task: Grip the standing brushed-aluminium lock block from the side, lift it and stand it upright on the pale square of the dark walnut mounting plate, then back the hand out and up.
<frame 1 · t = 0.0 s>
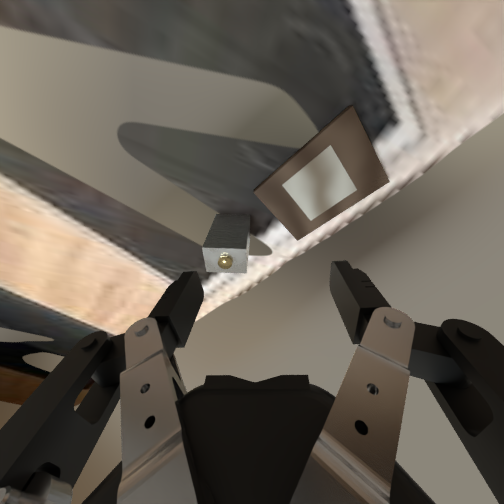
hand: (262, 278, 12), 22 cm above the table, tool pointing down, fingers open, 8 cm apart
mount plate: (317, 184, 30), on the table
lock: (233, 225, 35), on the table
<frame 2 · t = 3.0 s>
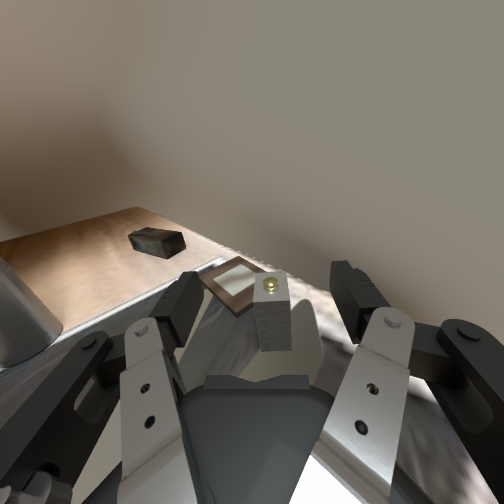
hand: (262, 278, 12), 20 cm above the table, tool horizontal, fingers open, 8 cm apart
mount plate: (238, 282, 43), on the table
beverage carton: (160, 250, 65), on the table
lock: (275, 333, 31), on the table
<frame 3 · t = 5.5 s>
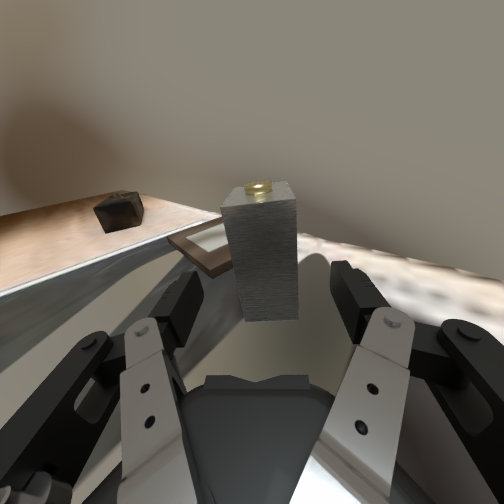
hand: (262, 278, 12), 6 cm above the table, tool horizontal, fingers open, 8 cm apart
mount plate: (220, 241, 31), on the table
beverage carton: (129, 221, 53), on the table
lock: (270, 296, 19), on the table
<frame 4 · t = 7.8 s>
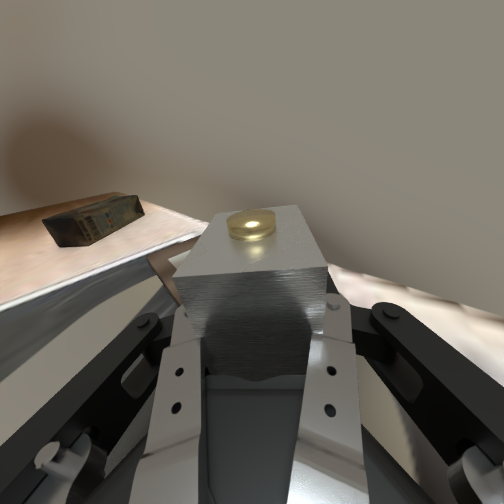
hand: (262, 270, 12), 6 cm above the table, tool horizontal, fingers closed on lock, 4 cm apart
mount plate: (210, 265, 26), on the table
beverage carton: (110, 230, 47), on the table
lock: (271, 367, 13), on the table, touching gripper
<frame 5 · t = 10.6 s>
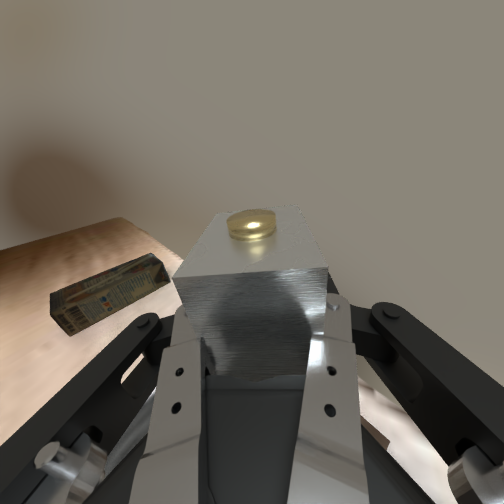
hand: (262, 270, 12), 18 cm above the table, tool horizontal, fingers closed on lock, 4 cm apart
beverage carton: (124, 299, 41), on the table
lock: (271, 367, 13), point 12 cm above the table, touching gripper
when the fingers open (8 cm above the table, at t = 13.4 s): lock stays where it is, resting on mount plate.
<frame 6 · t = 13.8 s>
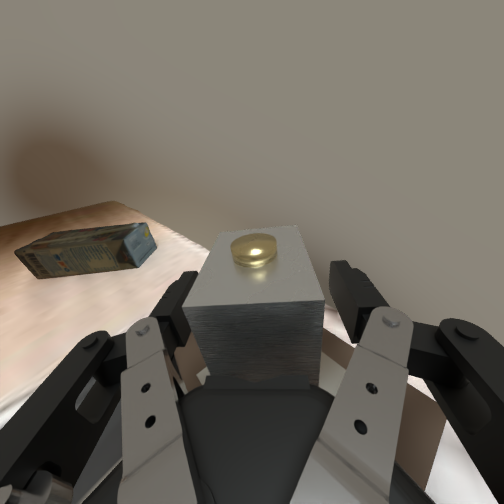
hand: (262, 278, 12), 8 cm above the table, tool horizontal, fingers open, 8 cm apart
mount plate: (274, 386, 14), on the table
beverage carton: (102, 264, 37), on the table
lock: (272, 377, 13), point 1 cm above the table, touching mount plate
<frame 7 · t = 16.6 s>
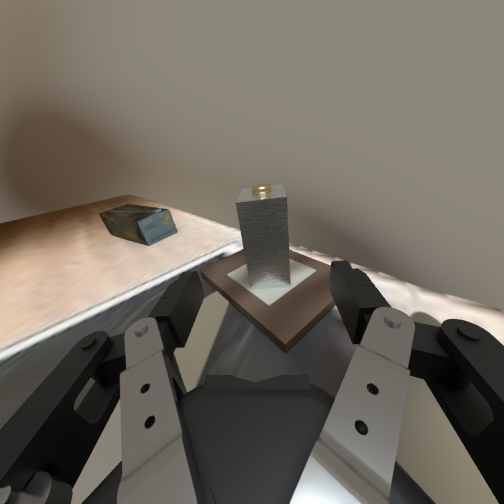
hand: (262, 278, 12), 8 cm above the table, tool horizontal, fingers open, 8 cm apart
mount plate: (270, 280, 25), on the table
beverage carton: (143, 235, 48), on the table
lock: (270, 272, 24), point 1 cm above the table, touching mount plate
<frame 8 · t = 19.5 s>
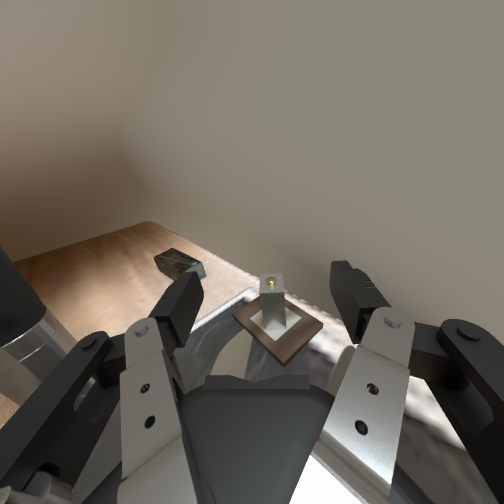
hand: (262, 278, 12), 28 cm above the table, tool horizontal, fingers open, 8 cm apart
mount plate: (275, 322, 43), on the table
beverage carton: (182, 274, 66), on the table
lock: (275, 318, 42), point 1 cm above the table, touching mount plate
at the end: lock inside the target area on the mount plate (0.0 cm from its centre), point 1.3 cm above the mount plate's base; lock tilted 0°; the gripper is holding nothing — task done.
